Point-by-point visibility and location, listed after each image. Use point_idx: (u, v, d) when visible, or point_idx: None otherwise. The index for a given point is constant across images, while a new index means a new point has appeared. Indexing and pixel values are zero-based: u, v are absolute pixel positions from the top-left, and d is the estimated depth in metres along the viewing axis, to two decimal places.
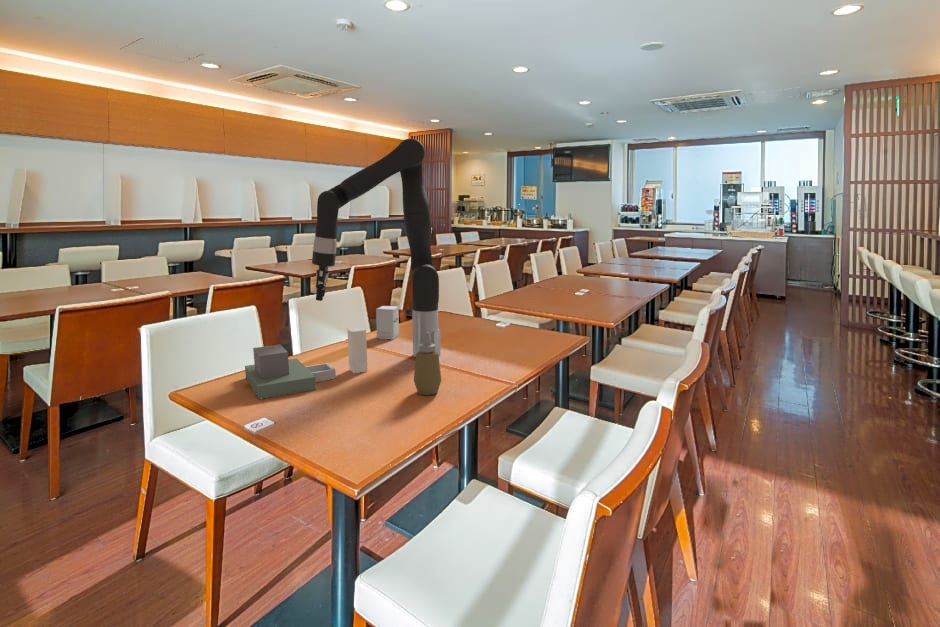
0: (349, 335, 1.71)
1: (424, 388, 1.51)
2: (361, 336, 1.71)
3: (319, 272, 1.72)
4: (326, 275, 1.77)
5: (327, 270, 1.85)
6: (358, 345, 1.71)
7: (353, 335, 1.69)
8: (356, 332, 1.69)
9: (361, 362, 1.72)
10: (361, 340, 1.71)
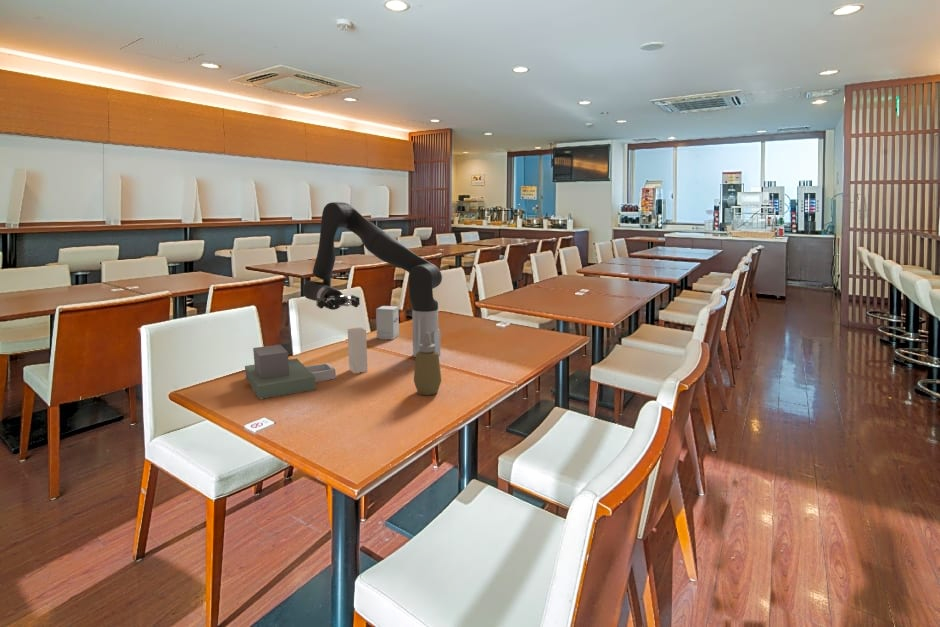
0: (349, 335, 1.71)
1: (424, 388, 1.51)
2: (361, 336, 1.71)
3: (316, 303, 1.84)
4: None
5: (352, 296, 1.90)
6: (358, 345, 1.71)
7: (353, 335, 1.69)
8: (356, 332, 1.69)
9: (361, 362, 1.72)
10: (361, 340, 1.71)
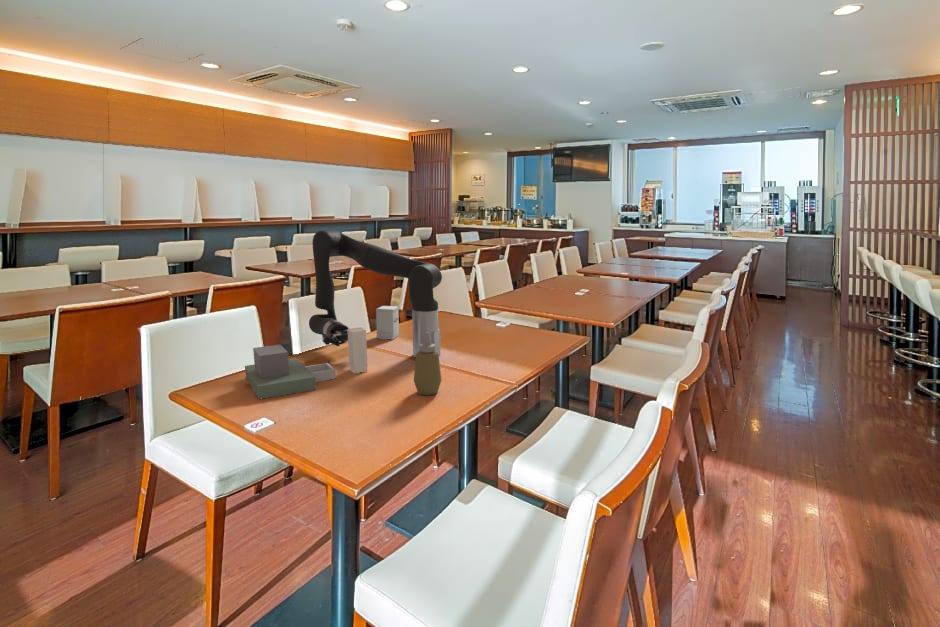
0: (349, 335, 1.71)
1: (424, 388, 1.51)
2: (361, 336, 1.71)
3: None
4: (335, 333, 1.84)
5: None
6: (358, 345, 1.71)
7: (353, 335, 1.69)
8: (356, 332, 1.69)
9: (361, 362, 1.72)
10: (361, 340, 1.71)
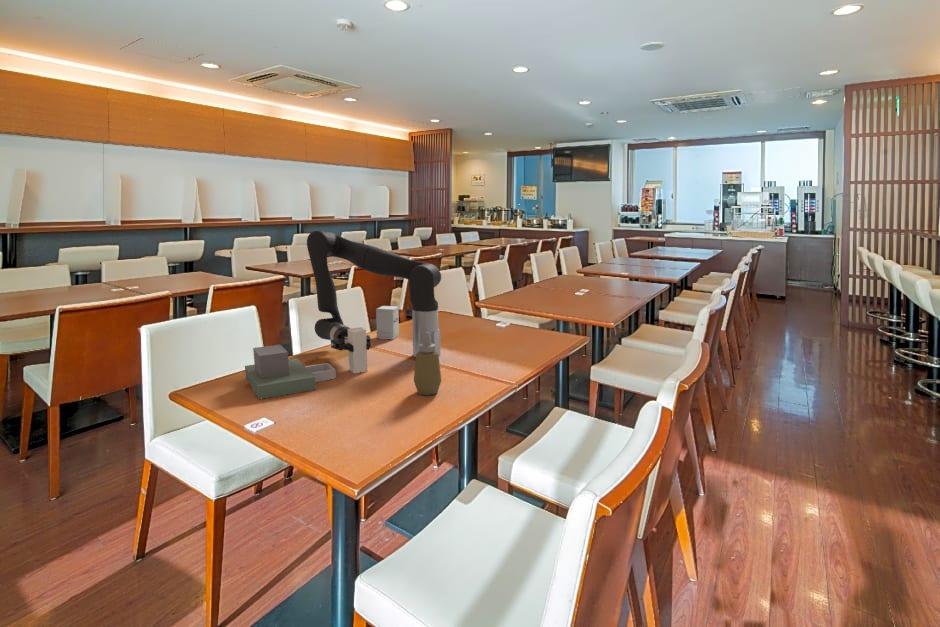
0: (349, 335, 1.71)
1: (424, 388, 1.51)
2: (361, 336, 1.71)
3: (331, 345, 1.75)
4: (344, 338, 1.77)
5: (367, 336, 1.81)
6: (358, 345, 1.71)
7: (353, 335, 1.69)
8: (356, 332, 1.69)
9: (361, 362, 1.72)
10: (361, 340, 1.71)
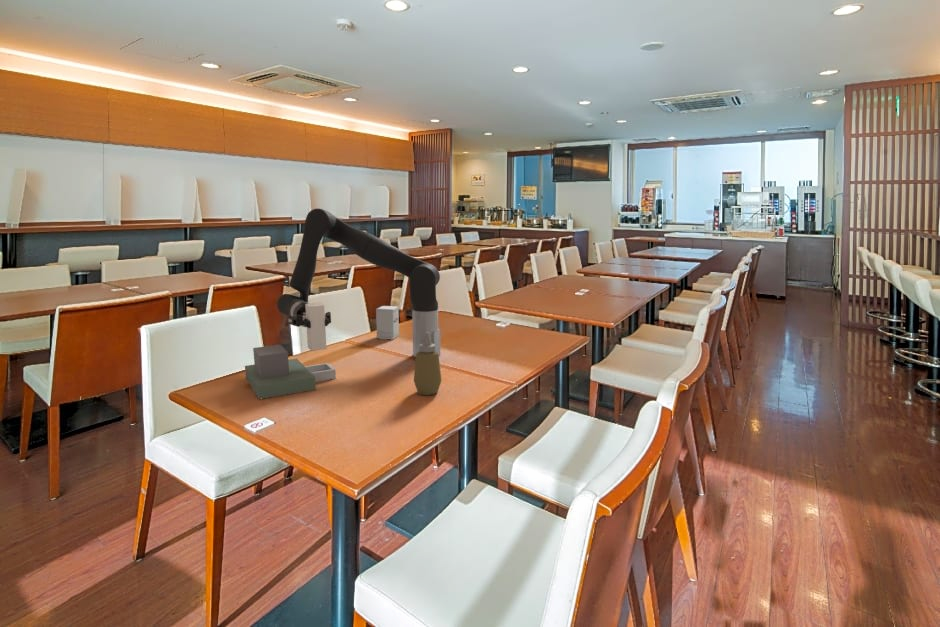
0: (307, 311, 1.63)
1: (424, 388, 1.51)
2: (319, 312, 1.62)
3: (289, 321, 1.67)
4: (303, 314, 1.68)
5: (327, 312, 1.72)
6: (316, 321, 1.62)
7: (310, 310, 1.61)
8: (313, 307, 1.61)
9: (320, 339, 1.64)
10: (319, 315, 1.62)
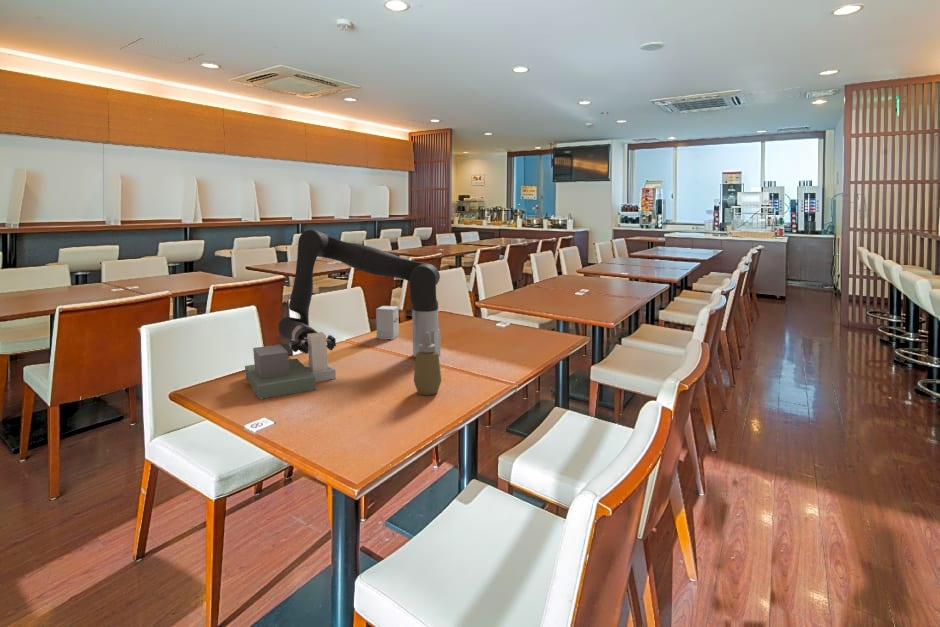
0: (309, 340, 1.64)
1: (424, 388, 1.51)
2: (321, 342, 1.64)
3: None
4: (304, 339, 1.70)
5: (329, 336, 1.74)
6: (318, 351, 1.64)
7: (312, 340, 1.63)
8: (315, 337, 1.63)
9: (321, 368, 1.66)
10: (321, 345, 1.64)
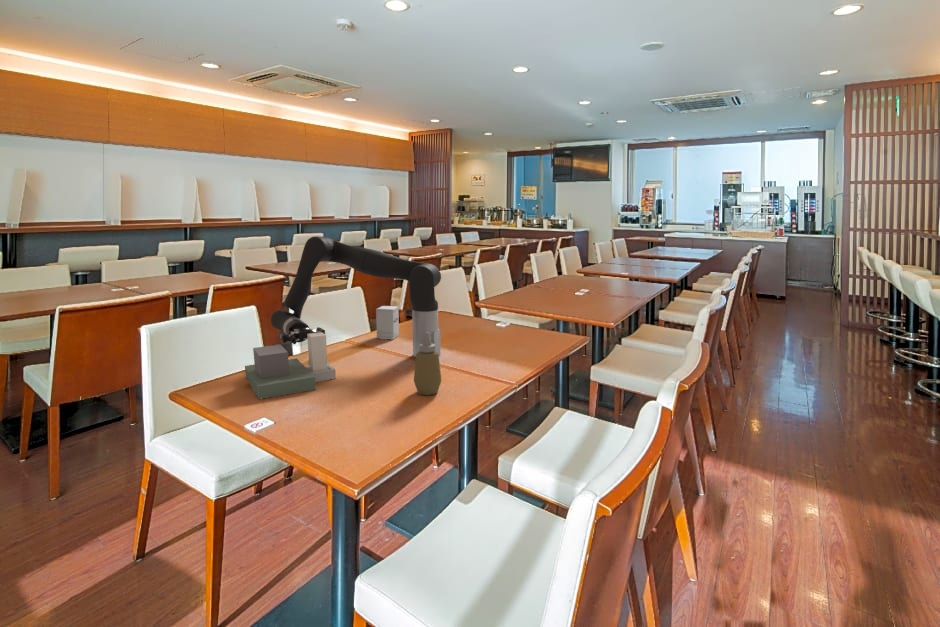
0: (309, 340, 1.65)
1: (424, 388, 1.51)
2: (321, 342, 1.64)
3: (280, 337, 1.80)
4: (294, 330, 1.80)
5: (318, 328, 1.85)
6: (318, 351, 1.64)
7: (312, 340, 1.63)
8: (315, 337, 1.63)
9: (321, 368, 1.66)
10: (321, 345, 1.64)
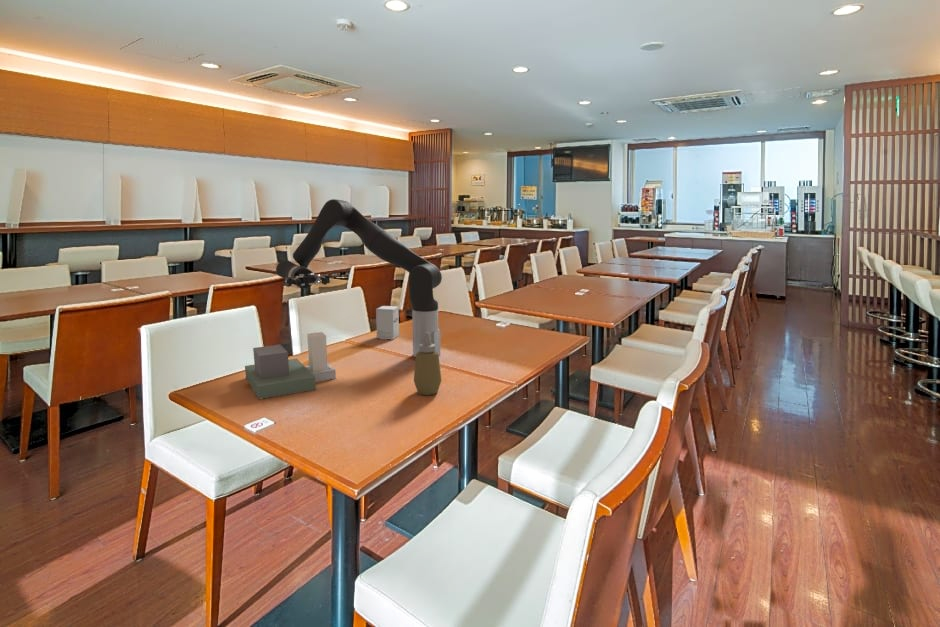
0: (309, 340, 1.64)
1: (424, 388, 1.51)
2: (321, 342, 1.64)
3: None
4: None
5: (323, 274, 1.88)
6: (318, 351, 1.64)
7: (312, 340, 1.63)
8: (315, 337, 1.63)
9: (321, 368, 1.66)
10: (321, 345, 1.64)
